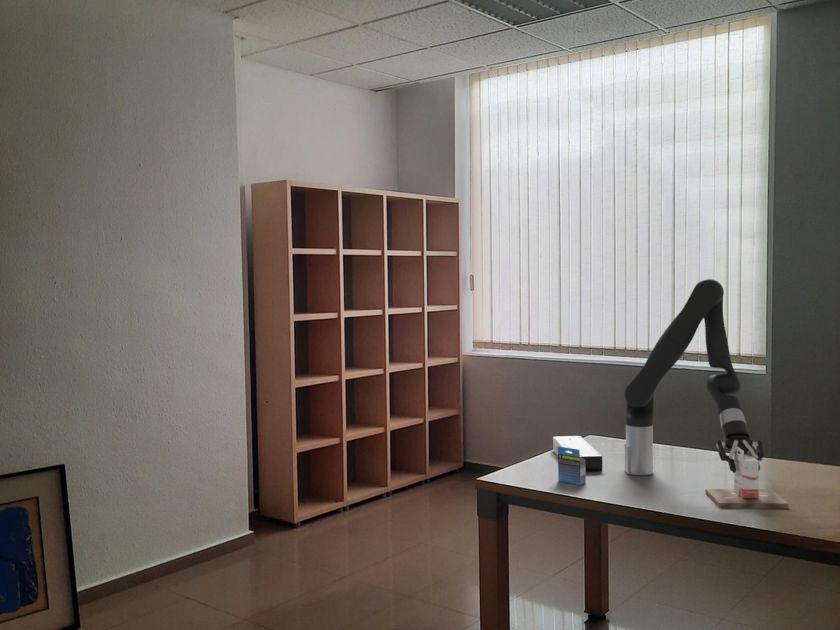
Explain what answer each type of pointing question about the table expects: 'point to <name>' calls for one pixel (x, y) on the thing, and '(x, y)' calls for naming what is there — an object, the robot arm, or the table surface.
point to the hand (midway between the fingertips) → (745, 471)
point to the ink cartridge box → (746, 475)
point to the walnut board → (745, 499)
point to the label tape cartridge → (571, 466)
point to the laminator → (580, 451)
